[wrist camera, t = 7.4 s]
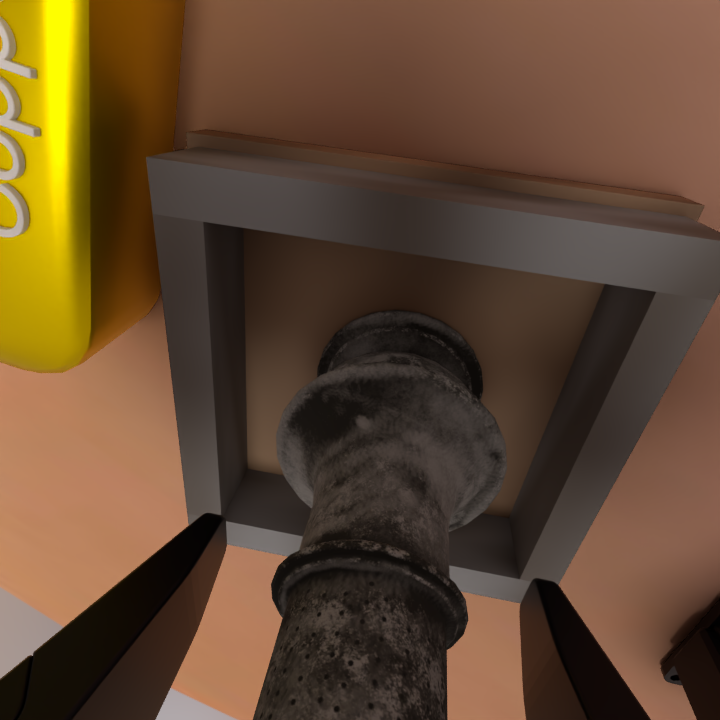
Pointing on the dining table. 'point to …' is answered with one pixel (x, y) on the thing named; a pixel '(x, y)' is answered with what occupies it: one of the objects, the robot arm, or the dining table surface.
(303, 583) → the dark grey chess piece
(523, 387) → the socket
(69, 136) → the element tile
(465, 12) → the dining table surface
